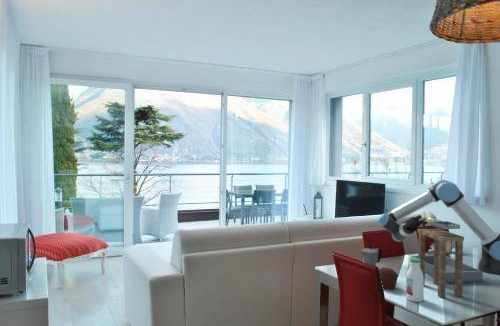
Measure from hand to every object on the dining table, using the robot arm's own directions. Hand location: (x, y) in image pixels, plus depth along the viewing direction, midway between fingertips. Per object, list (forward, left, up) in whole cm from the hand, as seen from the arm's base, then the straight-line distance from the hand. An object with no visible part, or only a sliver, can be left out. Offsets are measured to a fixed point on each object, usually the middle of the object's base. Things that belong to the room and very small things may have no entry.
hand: (427, 214), depth 210 cm
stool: (-3, +10, -38) cm, 40 cm away
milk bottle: (+13, +25, -38) cm, 48 cm away
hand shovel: (-1, +6, -4) cm, 7 cm away
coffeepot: (+28, -9, -38) cm, 48 cm away
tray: (-16, -21, -38) cm, 46 cm away
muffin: (+23, +9, -38) cm, 46 cm away
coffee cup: (-35, -76, -38) cm, 92 cm away
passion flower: (-26, -62, -38) cm, 77 cm away
